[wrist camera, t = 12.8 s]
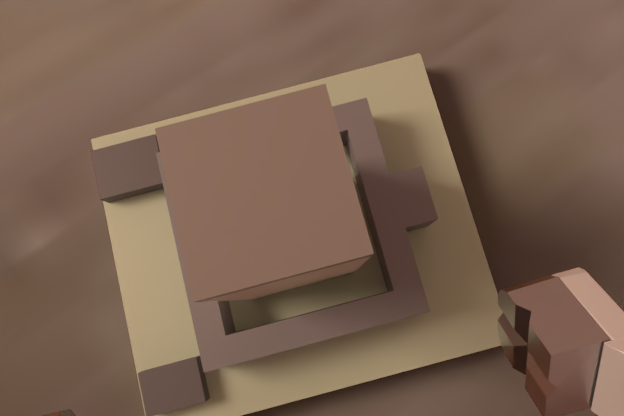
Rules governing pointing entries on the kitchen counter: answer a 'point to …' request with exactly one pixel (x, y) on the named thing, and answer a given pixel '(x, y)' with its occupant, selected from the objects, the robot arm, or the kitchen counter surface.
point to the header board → (319, 296)
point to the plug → (263, 197)
